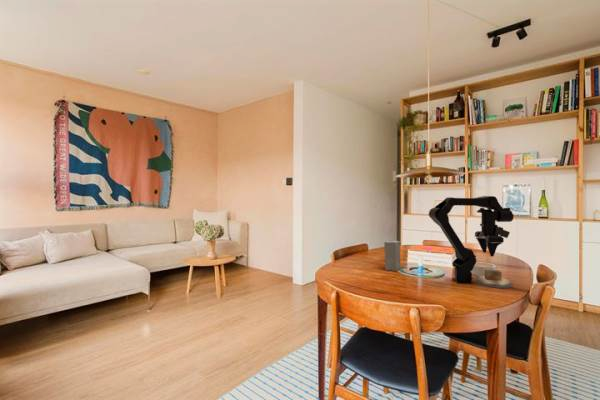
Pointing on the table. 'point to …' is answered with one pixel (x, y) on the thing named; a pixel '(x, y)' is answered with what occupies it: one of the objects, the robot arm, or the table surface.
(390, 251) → the skincare box
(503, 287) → the mat
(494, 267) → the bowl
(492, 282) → the lid
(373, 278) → the table surface
